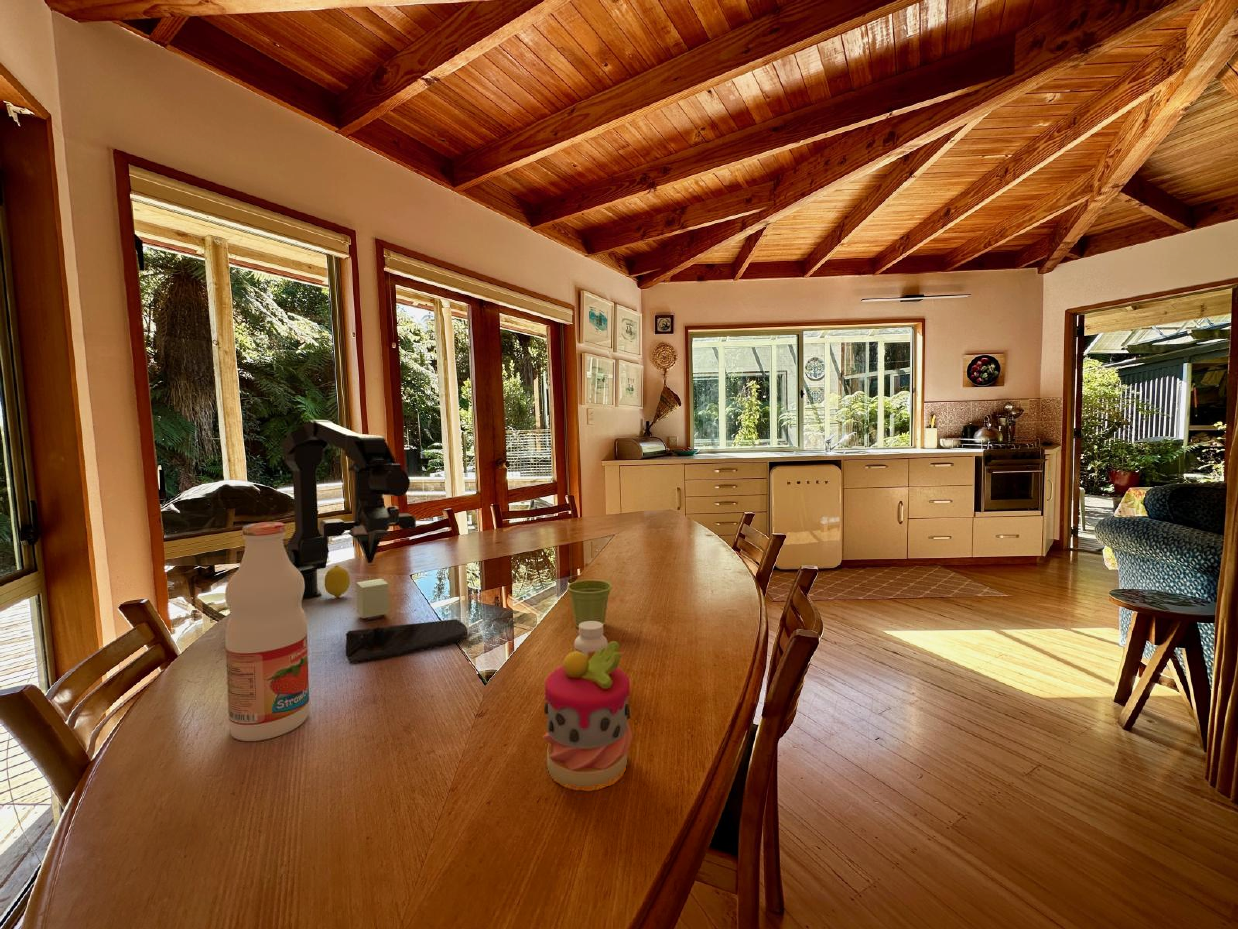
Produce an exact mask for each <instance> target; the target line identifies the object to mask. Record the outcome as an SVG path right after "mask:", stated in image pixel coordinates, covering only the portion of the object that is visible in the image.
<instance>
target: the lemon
mask: <svg viewBox="0 0 1238 929" xmlns="http://www.w3.org/2000/svg"><path fill="white" fill-rule="evenodd" d="M350 583H351V577H350V574H349V572H348V570H347V569H346V568H344V567H343V566H339V565H335V566H334V567H332V568H330V569H329V570H328V571H327V572H326V574H325V577H324V588H325V591H326V593H328V595H332V596H334V597H335V598H337V599H338V598H340V597H341V596H342V595H343V594H345V593H347V591H348V590H349V587H350V585H351V584H350Z"/></svg>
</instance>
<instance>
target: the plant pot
mask: <svg viewBox="0 0 1238 929" xmlns="http://www.w3.org/2000/svg"><path fill="white" fill-rule="evenodd" d="M612 588H613V585H612V584H611V583H610V582H608V581H605V580H599V579H584V580H577V581H574V582H571V583H569V584H568V585H567V590H568V592H569V596H570V598H571V604H572V610H573V616H574V618H573V619H574V625H575V624H576V625H577V626H579V624H580V623H582V622H586V621H597V622H601V623H604V622H605V623H606V617H607V616H606V615H607V608H608V607H607V606H608V600H609V596H610V594H611V593H610V592H611V590H612Z"/></svg>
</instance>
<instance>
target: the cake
mask: <svg viewBox="0 0 1238 929" xmlns="http://www.w3.org/2000/svg"><path fill="white" fill-rule="evenodd" d="M607 644H608V645H607V647H606V649H605V650H604V651H603V650H601V649H599V650H598V651H597V652H596V653H595V654H594V655H593V657H592V658H591V659H590V660H589V661H588V659H587V657H586V656H585V654H583V653H581V652H579V651H571V652H570V653H568V654H567V655H566V656H565V658H564V659H563V663H562V665H563V666H560V667H559V668H556V669H555V670H554V671H552V672H551V673H550V674H549V675H548V676H547V678H546V679H545V683H544V684H545V686H544V701H546V703H545V705H544V712H543V713H544V715H545V714H546V730H547V732H546V733H545V734H544V735H543V736H542V737H541V738H542V739H543V740H544V741H546V742H547V743H548V745H547V748H546V756H547V757H546V767H547V766H548V769H547V772H548V771H549V773H550V774H551V776H552V777H553V778H554V779H556V780H558V781H560V782H562V783H563V784H568V785H573V786H583V787H587V786H594V785H598V784H603V783H605V782H607V781H609V780H613V779H614V778H615V777H617V776H618V775H620V773H622V772H623V770H624V768H625V767H626V765H627V766H628V751H629V749H630V747H631V744H632V743H631V742H632V738H633V733H632V730H631V727H630V724H629V722H628V720H629V719H631V716H630V713H631V712H630V706H629V704H628V696H630V691H631V690H630V679H629V677H628V675H627V674H626V673H625V671H623V670H622V669H620V668H619V667H618V666H619V665H620V661H621V653H620V644H619V642H617V641H615V640H611V641H610V642H609V643H607Z"/></svg>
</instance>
